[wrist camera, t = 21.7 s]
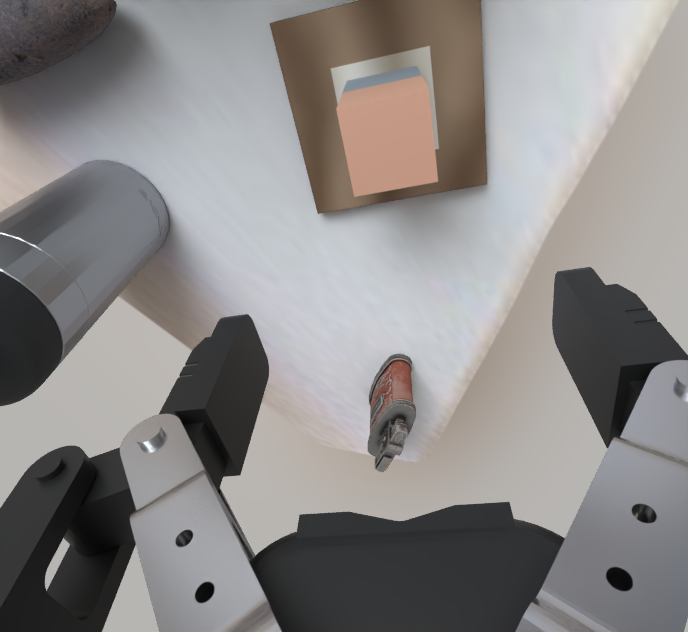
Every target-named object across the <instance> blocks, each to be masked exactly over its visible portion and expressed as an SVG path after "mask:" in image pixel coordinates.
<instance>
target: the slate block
mask: <svg viewBox="0 0 688 632" xmlns="http://www.w3.org/2000/svg"><path fill="white" fill-rule="evenodd" d="M416 76H421V74H420V71H419V69H418V67H417V66H413V67H408V68H403V69H399V70H394V71H390V72H385V73H380V74H376V75H371V76H366V77H362V78H357V79H353V80H348V81H347V82H346V85H345V87H344V90H343V93H344V92H349V91H353V90H358V89H362V88H367V87H371V86H376V85H380V84H385V83H389V82H394V81H398V80H403V79H407V78H412V77H416Z"/></svg>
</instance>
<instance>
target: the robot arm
mask: <svg viewBox="0 0 688 632" xmlns="http://www.w3.org/2000/svg"><path fill="white" fill-rule="evenodd" d="M168 228H169V219H168V213H167V210H166V207H165V204H164V202H163V200H162V198H161V196H160V195H159V193H158V192H157V190H156V189H155V188H154V187H153V185H152V184H151V183H150V182H149V181H148V180H147V179H145V178H144V177H143V176H142V175H141V174H139V173H138V172H136V171H134V170H133V169H131V168H129V167H127V166H125V165H122V164H120V163H116V162H111V161H93V162H88V163H85V164H83V165H82V166H80V167H78V168H76V169H74V170H73V171H71V172H69V173H67V174H66V175H64V176H62V177H60V178H59V179H57V180H55V181H53V182H51V183H50V184H48V185H46V186H45V187H43V188H41V189H39V190H38V191H36V192H34V193H33V194H31V195H29V196H27V197H26V198H24V199H22V200H20V201H19V202H17V203H15V204H14V205H12V206H10V207H8V208H7V209H5V210H3V211H2V212H0V406H4V405H9V404H12V403H15V402H18V401H20V400H22V399H24V398H26V397H27V396H29V395H30V394H32V393H33V392H35V391H36V390H37V389H38V388H39V387H40V386H41V385H42V384H43V383H44V382H45V380H46V379H47V378H48V377H49V376H50V375H51V373H52V372H53V371H54V370H55V369H56V367H57V366H58V365H59V364H60V363H61V362H62V361H63V359H64V358H65V357H66V356H67V355H68V354H69V352H70V351H71V350H72V349H73V348H74V347H75V345H76V344H77V343H78V342H79V341H80V340H81V339H82V337H83V336H84V335H85V334H86V332H87V331H88V330H89V329H90V328H91V327H92V325H93V324H94V323H95V322H96V321H97V320H98V318H99V317H100V316H101V315H102V314H103V313H104V311H105V310H106V309H107V308H108V307H109V306H110V304H111V303H112V302H113V301H114V300H115V299H116V298H117V296H118V295H119V294H120V293H121V292H122V291H123V289H124V288H125V287H126V286H127V285H128V284H129V283H130V281H131V280H132V279H133V278H134V277H135V276H136V274H137V273H138V272H139V271H140V270H141V269H142V268H143V266H144V265H145V264H146V263H147V262H148V261H149V260H150V258H151V257H152V256H153V255H154V254H155V253H156V251H157V250H158V249H159V248H160V247H161V245H162V244H163V243H164V241H165V239H166V237H167V234H168ZM552 326H553V335H554V339H555V343H556V345H557V348H558V350H559V352H560V354H561V356H562V358H563V360H564V362H565V364H566V366H567V368H568V370H569V372H570V374H571V376H572V378H573V380H574V382H575V384H576V386H577V388H578V390H579V392H580V394H581V396H582V398H583V400H584V402H585V404H586V406H587V408H588V411H589V413H590V414H591V416H592V419H593V420H594V423H595V424H596V427H597V429H598V431H599V433H600V435H601V437H602V439H603V441H604V443H605V445H606V447H607V448H608V450H607V452H606V454H605V456H604V458H603V460H602V462H601V464H600V466H599V468H598V471H597V473H596V475H595V477H594V479H593V481H592V483H591V485H590V487H589V489H588V491H587V494H586V496H585V498H584V500H583V502H582V504H581V506H580V508H579V510H578V513H577V514H576V517H575V519H574V521H573V523H572V525H571V527H570V529H569V531H568V533H567V536H566V538H563V537H561V536H560V535H558V534H556V533H554V532H552V531H550V530H547V529H545V528H543V527H540V526H538V525H535V524H532V523H528V522H525V521H521V520H516V519H514V518H513V515H512V511H511V507H510V503H509V502H501V503H485V504H468V505H454V506H451V507H448V508H445V509H441V510H438V511H435V512H432V513H429V514H426V515H422V516H419V517H416V518H412V519H409V520H406V521H393V520H388V519H383V518H378V517H372V516H367V515H362V514H357V513H352V512H336V513H320V514H303V515H300V516H299V522H298V529H297V532H294V533H291V534H290V535H287V536H285V537H283V538H280V539H279V540H277V541H275V542H274V543H272V544H270V545H269V546H268V547H266V548H265V549H263V550H262V551H260V552H259V553H258V554H257V555H256V556H255V554H254V552H253V551H252V549H251V547H250V545H249V543H248V541H247V539H246V537H245V535H244V533H243V531H242V529H241V527H240V525H239V523H238V522H237V520H236V518H235V516H234V514H233V512H232V510H231V508H230V506H229V504H228V502H227V500H226V498H225V496H224V494H223V492H222V491H221V489H220V484H221V481H222V478H223V477H224V476H236V475H240V474H241V471H242V467H243V464H244V460H245V457H246V453H247V450H248V446H249V443H250V440H251V436H252V433H253V429H254V426H255V422H256V419H257V415H258V412H259V409H260V405H261V402H262V398H263V395H264V391H265V388H266V384H267V381H268V377H269V365H268V359H267V356H266V353H265V351H264V348H263V346H262V343H261V341H260V338H259V335H258V333H257V330H256V328H255V325H254V323H253V320H252V318H251V317H250V316H249V315H248V314H245V315H238V316H231V317H224V318H221V319H220V320H219V321H218V323H217V325H216V327H215V329H214V331H213V334H212V336H211V337H207V338H205V339H204V340H203V341H202V342H201V343H200V344H198V345H197V346H196V347H195V348H194V349H193V350H192V352H191V354H190V356H189V358H188V360H187V362H186V366H185V367H183V370H182V371H181V373H180V378H178V379H177V381H176V383H175V385H174V386H173V388H172V390H171V392H170V394H169V396H168V398H167V400H166V402H165V404H164V405H163V407H162V410H161V411H160V413H159V415H155V416H152V417H150V418H148V419H146V420H144V421H143V422H141V423H139V424H138V425H136V426H135V427H134V428H133V429H132V430H130V432H129V433H128V434H127V435H126V436H125V438H124V439H123V441H122V444H121V446H120V448H117V449H114V450H111V451H109V452H106V453H103V454H100V455H97V456H95V457H92V458H88V456H87V455H86V454H85V453H84V451H83V450H82V449H81V448H80V447H77V446H65V447H61V448H58V449H55V450H53V451H51V452H49V453H47V454H46V455H44V456H43V457H41V458H40V459H38V460H37V461H36V462H35V463H34V464H32V465H31V466H30V468H28V470H27V471H26V472H25V473H24V475H23V476H22V477H21V479H20V480H19V482H18V483H17V485H16V486H15V488H14V489H13V491H12V492H11V494H10V495H9V497H8V498H7V499H6V501H5V502H4V504H3V505H2V507H1V508H0V632H102V629H103V627H104V625H105V622H106V619H107V617H108V614H109V611H110V609H111V607H112V604H113V601H114V599H115V596H116V594H117V591H118V588H119V586H120V583H121V580H122V578H123V576H124V573H125V570H126V568H127V565H128V563H129V560H130V558H131V555H132V552H133V550H134V547H135V545H136V546H137V550H138V554H139V557H140V561H141V565H142V568H143V572H144V576H145V580H146V583H147V587H148V591H149V594H150V598H151V602H152V606H153V610H154V613H155V616H156V621H157V624H158V628H159V631H160V632H684V629H685V625H686V622H687V618H688V355H687V354H686V353H685V352H684V351H683V349H682V348H681V347H680V346H679V344H678V343H677V342H676V341H675V340H674V339H673V337H672V336H671V335H670V334H669V333H668V332H667V330H666V329H665V328H664V327H663V325H662V324H661V323H660V322H657V319H656V317H655V316H654V315H653V314H652V312H651V311H648V308H647V307H646V305H645V304H644V303H643V302H642V301H641V299H640V298H639V297H638V296H637V295H636V294H635V293H633V292H631V291H629V290H627V289H626V288H624V287H622V286H620V285H618V284H613V285H605V284H604V283H603V281H602V280H601V279H600V278H599V276H598V275H597V274H596V272H595V271H594V270H593V269H592V268H591V267H586V268H579V269H573V270H565V271H558V272H557V273H556V275H555V282H554V301H553V319H552ZM63 538H64V539H65V540H66V541H67V542H68V543H69V544H70V546H69V548H68V550H67V552H66V554H65V556H64V558H63V560H62V562H61V564H60V566H59V568H58V570H57V572H56V574H55V576H54V578H53V580H52V582H51V584H50V586H49V588H48V589H47V591H46V589H45V574H46V571H47V568H48V566H49V564H50V562H51V560H52V558H53V556H54V554H55V552H56V551H57V549H58V547H59V545H60V543H61V541H62V539H63Z"/></svg>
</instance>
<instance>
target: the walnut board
mask: <svg viewBox="0 0 688 632" xmlns="http://www.w3.org/2000/svg"><path fill="white" fill-rule="evenodd" d="M270 27H271V30H272V34H273V38H274V42H275V46H276V50H277V54H278V58H279V62H280V66H281V70H282V74H283V78H284V82H285V86H286V90H287V94H288V98H289V102H290V105H291V109H292V113H293V117H294V121H295V125H296V129H297V133H298V137H299V141H300V145H301V149H302V153H303V157H304V161H305V165H306V169H307V173H308V176H309V180H310V184H311V188H312V192H313V196H314V200H315V204H316V208H317V212H318V214H319V213H325V212H331V211H336V210H342V209H348V208H353V207H359V206H365V205H371V204H376V203H382V202H388V201H394V200H399V199H405V198H411V197H416V196H422V195H428V194H434V193H439V192H445V191H451V190H456V189H462V188H468V187H474V186H479V185H485V184H487V166H486V137H485V109H484V80H483V52H482V23H481V0H360V1H356V2H352V3H348V4H344V5H340V6H336V7H332V8H328V9H324V10H320V11H316V12H312V13H308V14H304V15H301V16H297V17H293V18H289V19H285V20H281V21H277V22H273V23H270ZM413 66H417V67H418V69H419V71H420V74H421V75H422V76H423V78H424V80H425V82H426V84H427V86H428V88H429V94H430V104H431V114H432V124H433V134H434V145H435V155H436V165H437V175H438V182H434V183H428V184H423V185H417V186H412V187H406V188H401V189H395V190H390V191H384V192H379V193H373V194H368V195H362V196H357V197H354V193H353V188H352V184H351V179H350V174H349V169H348V164H347V159H346V154H345V149H344V145H343V140H342V135H341V130H340V125H339V120H338V115H337V110H336V109H337V106H338V104H339V101H340V98H341V96H342V93H343V90H344V87H345V85H346V82H347V81H348V80H353V79H357V78H362V77H366V76H371V75H376V74H380V73H385V72H390V71H394V70H399V69H403V68H408V67H413Z"/></svg>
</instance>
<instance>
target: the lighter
mask: <svg viewBox="0 0 688 632" xmlns="http://www.w3.org/2000/svg"><path fill="white" fill-rule="evenodd" d="M411 371H412V361H411V359H410V358H409V357H408V356H406V355H404V354H394V355H391V356H390V357H389V358H388V359H387V360H386V362H385V363H384V364H383V365H382V366H381V368H380V370H379V371H378V373H377V374H376V376H375V379H374V381H373V384H372V386H371V390H370V395H369V404H370V406H371V414H370V436H369V440H368V452H369V453H370V454H371V455H373V456H375V457H376V458H375V469H376V470H377V471H380V472H384V471H385V470H386V469H387V468H388V466H389V465H390V463H391V461H392V460H393V458H394V457H395V455H400V454H401V453H402V450H403V446H404V441H405V439H406V438H407V436H408V434H409V432H410V430H411V428H412V426H413V423H414V420H415V417H416V409H415V406H414V404H413V397H412V384H411Z"/></svg>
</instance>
